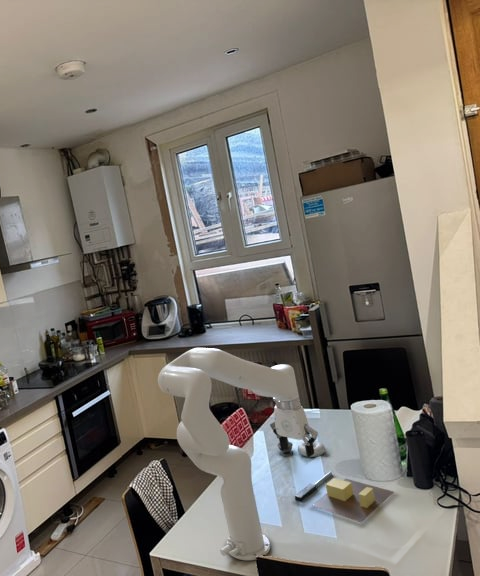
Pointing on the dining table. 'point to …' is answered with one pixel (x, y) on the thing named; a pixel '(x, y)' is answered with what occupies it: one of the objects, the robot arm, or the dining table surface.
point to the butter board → (353, 502)
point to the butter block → (339, 489)
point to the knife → (310, 488)
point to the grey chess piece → (288, 450)
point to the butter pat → (366, 497)
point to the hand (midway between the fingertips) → (297, 451)
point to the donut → (318, 449)
